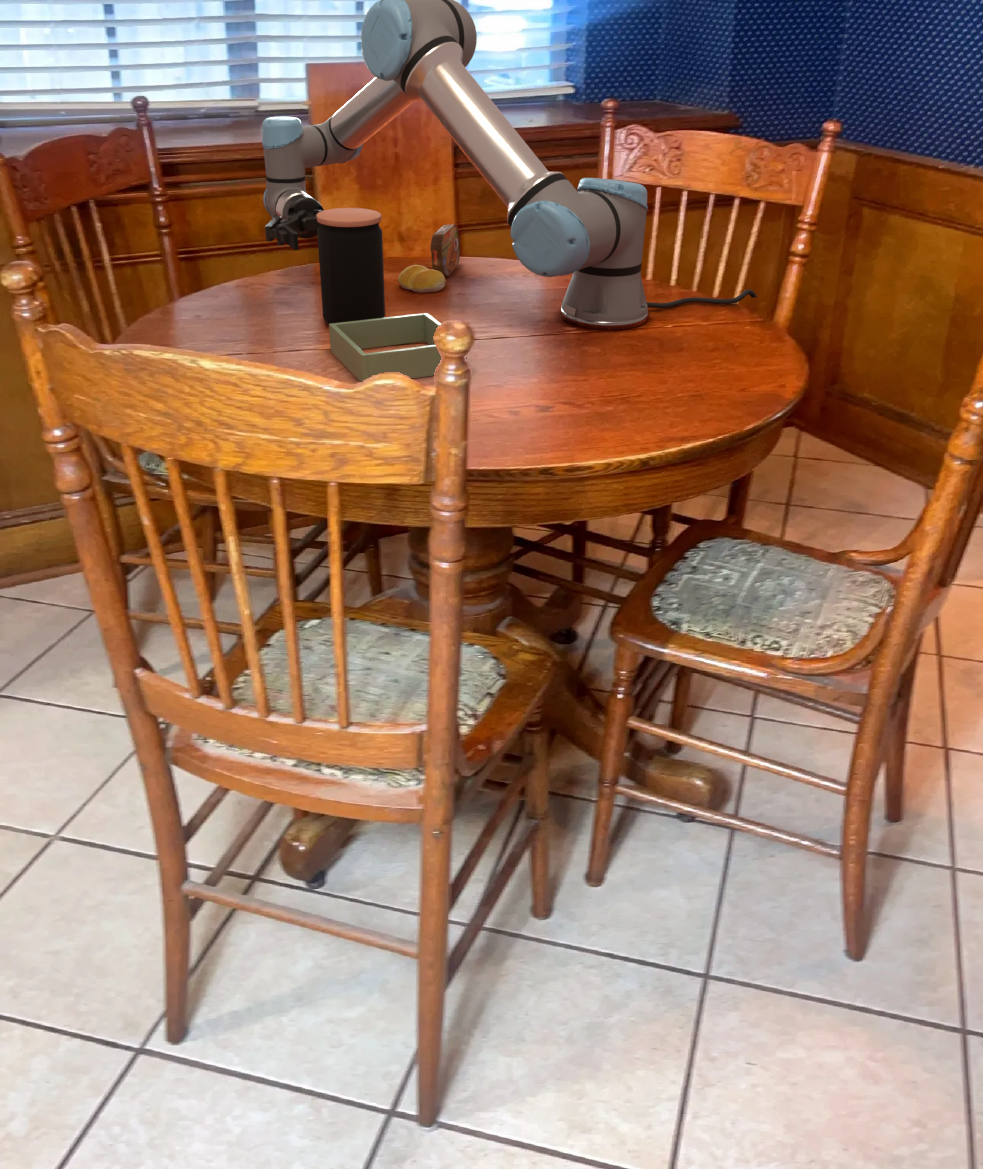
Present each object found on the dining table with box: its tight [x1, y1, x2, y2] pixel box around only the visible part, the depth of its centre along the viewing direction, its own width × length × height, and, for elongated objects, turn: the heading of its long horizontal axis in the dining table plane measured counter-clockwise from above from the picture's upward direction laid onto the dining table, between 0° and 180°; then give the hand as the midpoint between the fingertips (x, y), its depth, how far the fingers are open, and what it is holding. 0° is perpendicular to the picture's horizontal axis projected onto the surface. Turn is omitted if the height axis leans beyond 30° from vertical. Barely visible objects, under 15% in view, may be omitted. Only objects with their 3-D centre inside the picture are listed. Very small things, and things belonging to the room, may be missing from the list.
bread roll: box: [398, 264, 446, 294], centre depth 198 cm, size 8×9×4 cm
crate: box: [328, 312, 468, 383], centre depth 161 cm, size 17×17×4 cm
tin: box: [430, 223, 461, 277], centre depth 208 cm, size 15×3×8 cm, turn 168°
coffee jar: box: [316, 207, 386, 327], centre depth 174 cm, size 11×11×18 cm
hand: (334, 238), depth 180 cm, fingers open, 13 cm apart
